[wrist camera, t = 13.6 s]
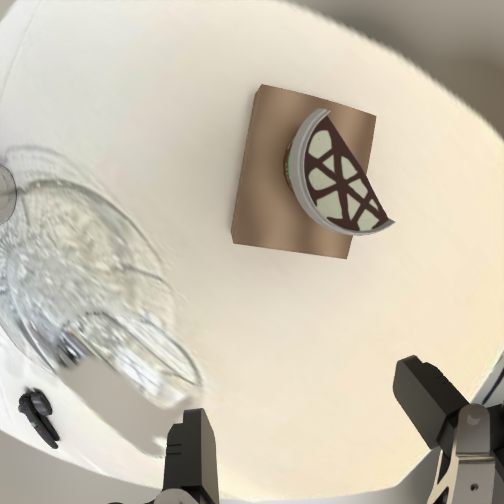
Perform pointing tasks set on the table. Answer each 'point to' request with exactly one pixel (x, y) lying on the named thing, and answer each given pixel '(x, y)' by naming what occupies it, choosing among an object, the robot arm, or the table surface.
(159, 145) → the table surface
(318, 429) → the table surface
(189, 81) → the table surface
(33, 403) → the can opener
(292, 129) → the brown wooden block
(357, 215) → the half-round tin
